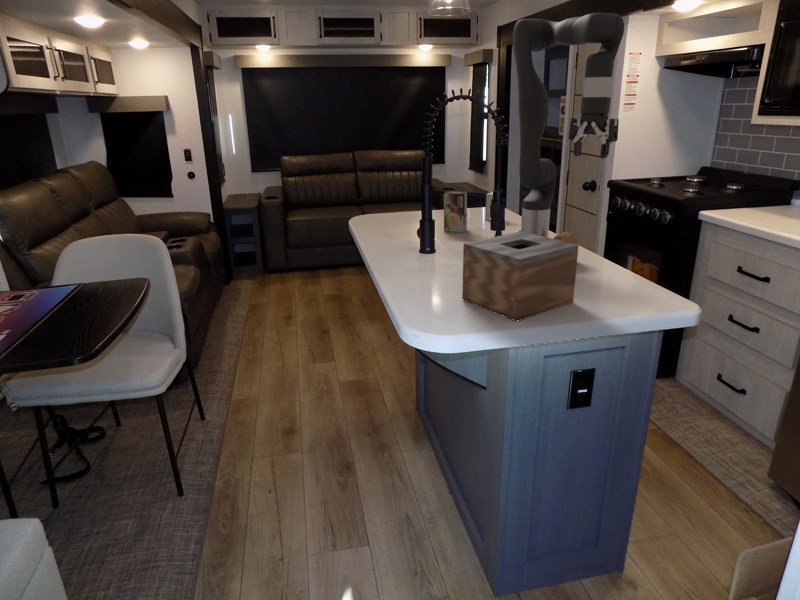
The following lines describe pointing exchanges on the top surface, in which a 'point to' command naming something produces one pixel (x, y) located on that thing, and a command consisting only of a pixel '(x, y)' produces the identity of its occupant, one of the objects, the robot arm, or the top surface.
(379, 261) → the top surface
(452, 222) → the coffee box
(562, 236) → the natural sponge
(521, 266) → the box
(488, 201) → the skincare box
